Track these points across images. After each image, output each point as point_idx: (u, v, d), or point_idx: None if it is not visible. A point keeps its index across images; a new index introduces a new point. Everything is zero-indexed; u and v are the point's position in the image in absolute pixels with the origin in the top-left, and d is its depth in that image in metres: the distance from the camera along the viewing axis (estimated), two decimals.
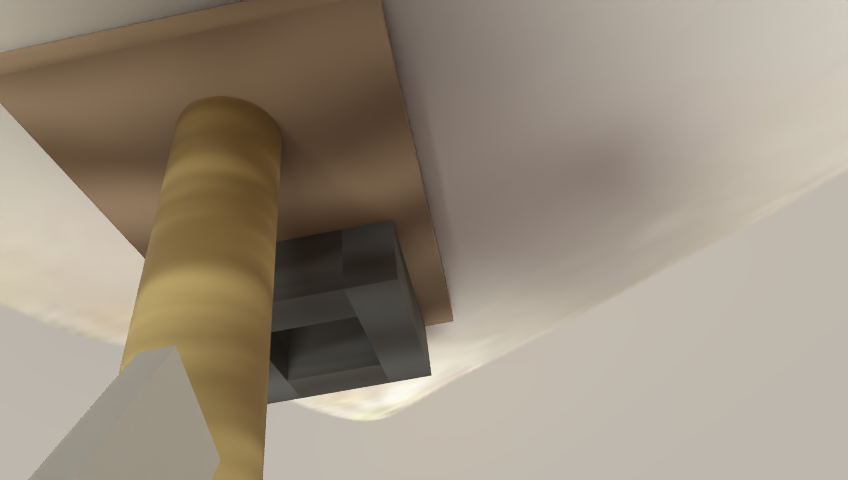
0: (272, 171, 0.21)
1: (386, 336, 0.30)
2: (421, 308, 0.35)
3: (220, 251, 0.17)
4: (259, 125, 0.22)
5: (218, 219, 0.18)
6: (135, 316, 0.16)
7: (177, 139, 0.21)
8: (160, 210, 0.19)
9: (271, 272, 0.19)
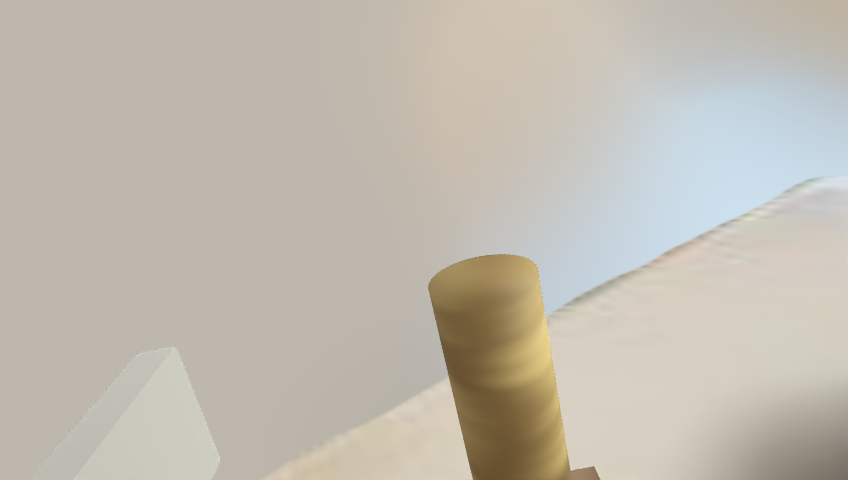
0: None
1: None
2: None
3: (566, 479, 0.23)
4: None
5: None
6: None
7: None
8: None
9: None
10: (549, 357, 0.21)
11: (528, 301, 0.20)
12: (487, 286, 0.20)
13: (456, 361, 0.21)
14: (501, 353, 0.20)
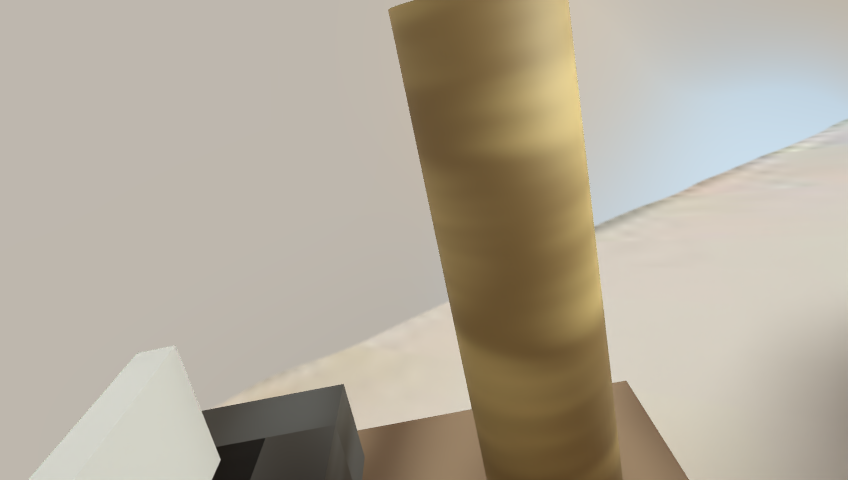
0: None
1: None
2: None
3: (601, 338, 0.15)
4: None
5: (608, 374, 0.15)
6: None
7: None
8: None
9: (539, 380, 0.14)
10: (580, 125, 0.13)
11: (550, 0, 0.12)
12: None
13: (430, 118, 0.13)
14: (503, 90, 0.12)
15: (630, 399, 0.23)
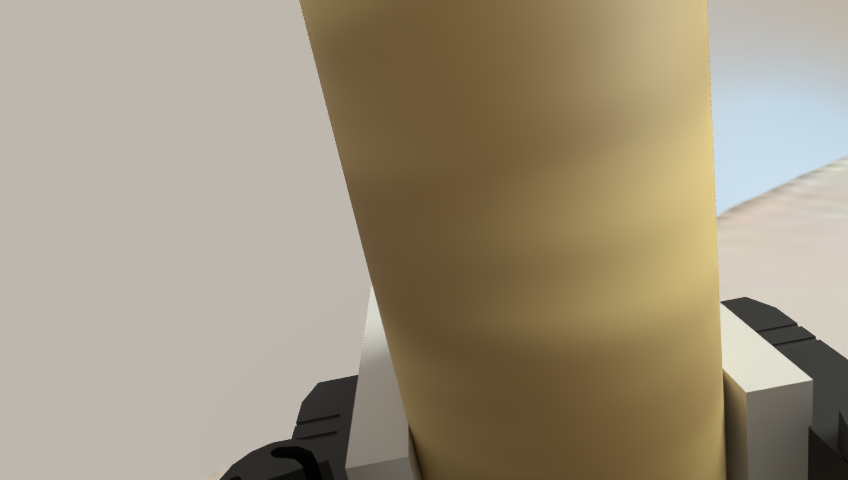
0: None
1: None
2: None
3: None
4: None
5: None
6: None
7: None
8: None
9: None
10: None
11: None
12: None
13: (393, 246, 0.06)
14: (568, 196, 0.05)
15: None
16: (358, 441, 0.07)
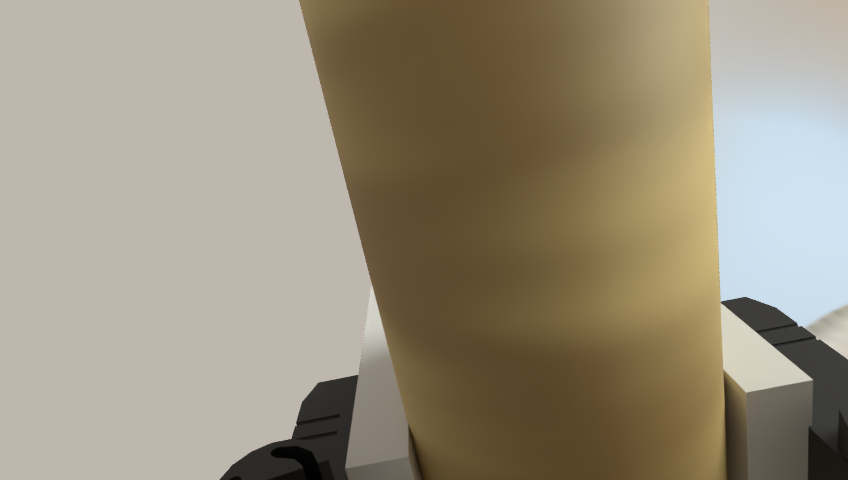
0: None
1: None
2: None
3: None
4: None
5: None
6: None
7: None
8: None
9: None
10: None
11: None
12: None
13: (393, 246, 0.06)
14: (568, 197, 0.05)
15: None
16: (358, 441, 0.07)
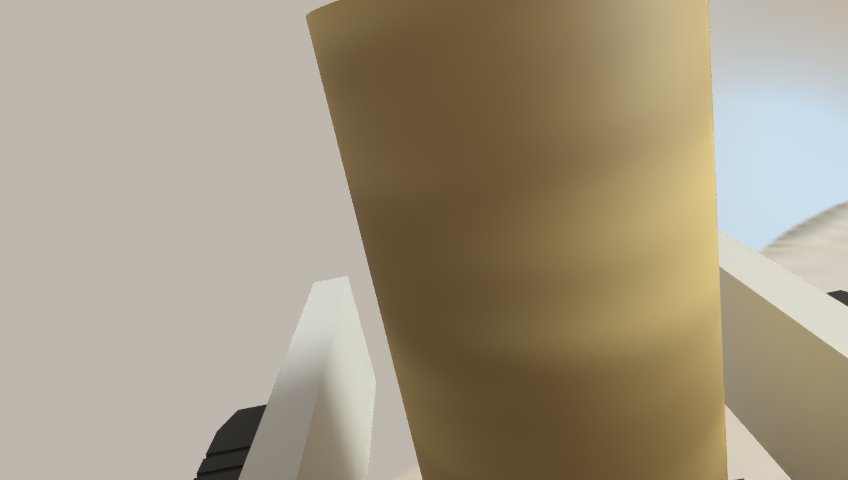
0: None
1: None
2: None
3: None
4: None
5: None
6: None
7: None
8: None
9: None
10: (718, 263, 0.06)
11: None
12: None
13: (398, 262, 0.06)
14: (573, 217, 0.05)
15: None
16: None
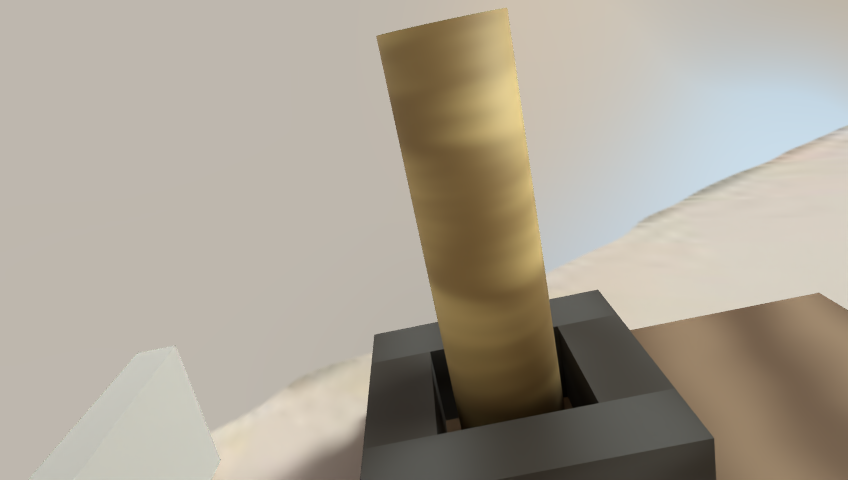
0: None
1: (533, 435, 0.18)
2: None
3: (541, 287, 0.19)
4: None
5: (548, 317, 0.20)
6: None
7: None
8: None
9: (492, 318, 0.19)
10: (521, 122, 0.18)
11: (494, 31, 0.16)
12: None
13: (408, 117, 0.17)
14: (460, 96, 0.16)
15: (831, 305, 0.28)
16: None
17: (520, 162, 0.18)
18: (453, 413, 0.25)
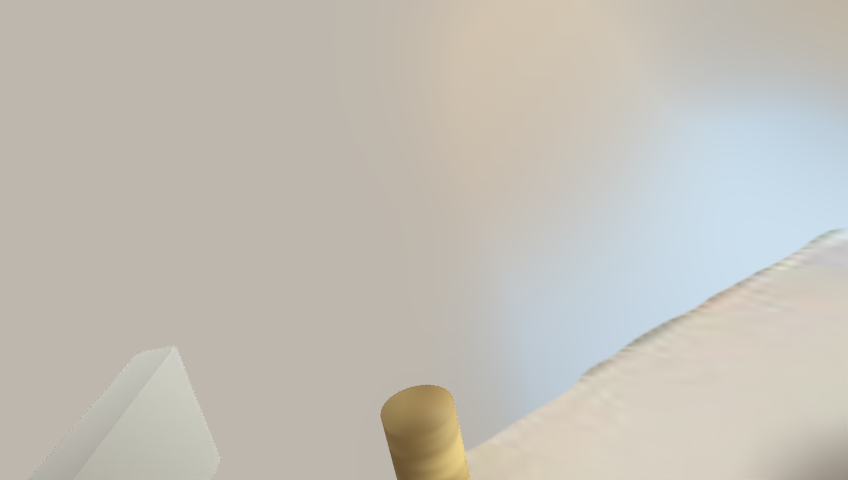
0: None
1: None
2: None
3: None
4: None
5: None
6: None
7: None
8: None
9: None
10: (462, 461, 0.31)
11: (444, 429, 0.30)
12: (418, 417, 0.30)
13: (398, 464, 0.31)
14: (426, 463, 0.30)
15: None
16: None
17: None
18: None
